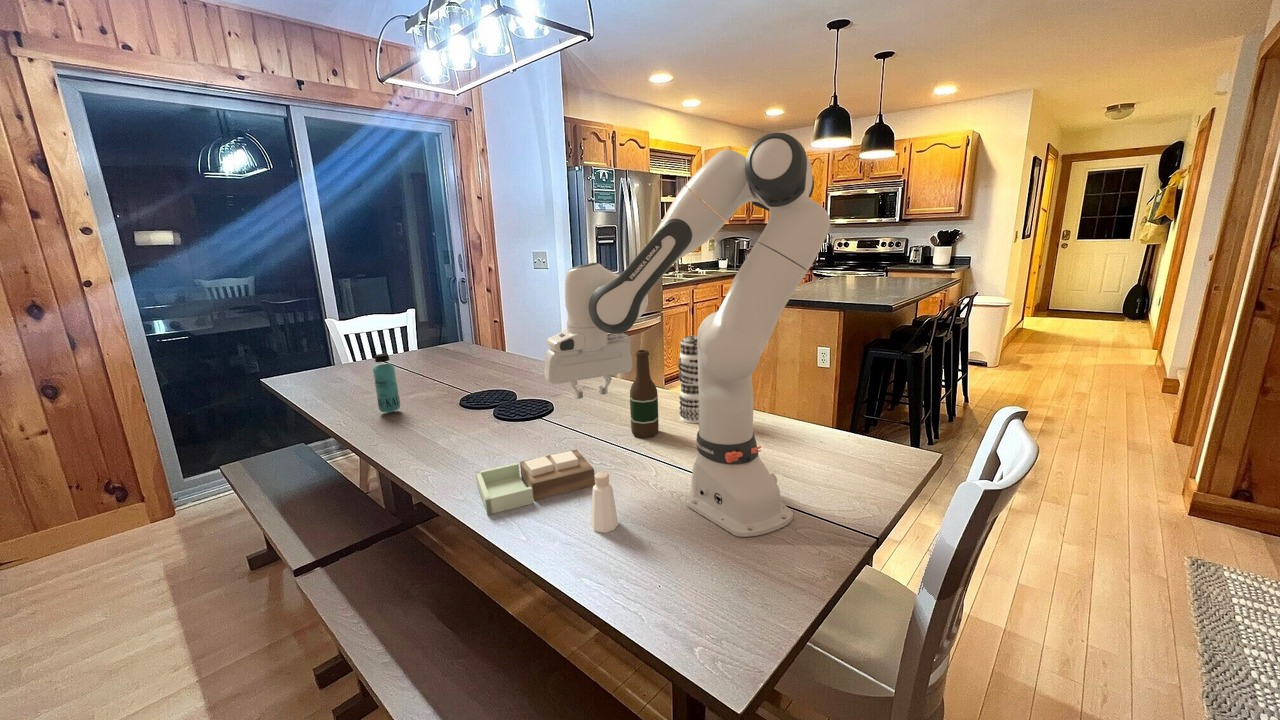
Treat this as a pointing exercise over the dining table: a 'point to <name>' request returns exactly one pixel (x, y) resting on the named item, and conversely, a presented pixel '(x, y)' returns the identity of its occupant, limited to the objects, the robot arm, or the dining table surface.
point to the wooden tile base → (559, 478)
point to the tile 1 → (538, 466)
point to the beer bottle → (643, 400)
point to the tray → (503, 488)
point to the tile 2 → (564, 460)
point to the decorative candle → (689, 380)
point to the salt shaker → (603, 505)
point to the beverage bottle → (386, 384)
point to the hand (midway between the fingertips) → (591, 396)
